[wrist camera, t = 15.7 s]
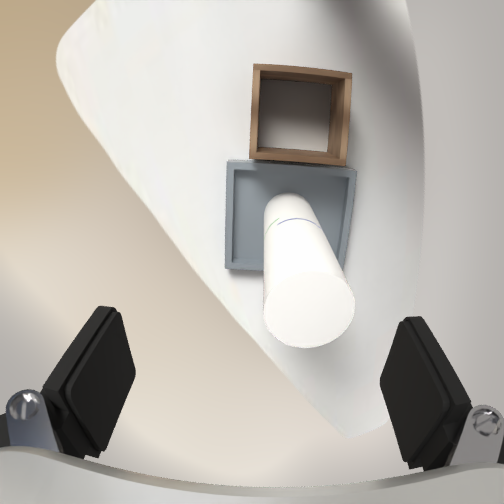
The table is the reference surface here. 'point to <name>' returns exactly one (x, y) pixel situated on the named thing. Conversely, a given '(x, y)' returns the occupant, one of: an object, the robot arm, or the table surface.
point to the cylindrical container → (302, 277)
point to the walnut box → (337, 113)
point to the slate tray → (272, 184)
